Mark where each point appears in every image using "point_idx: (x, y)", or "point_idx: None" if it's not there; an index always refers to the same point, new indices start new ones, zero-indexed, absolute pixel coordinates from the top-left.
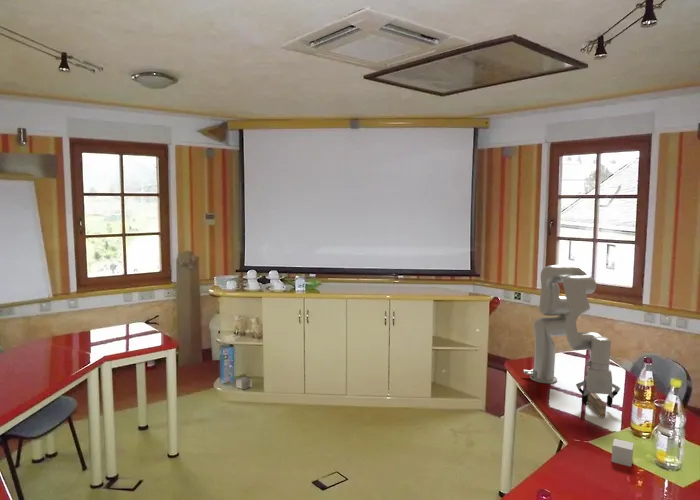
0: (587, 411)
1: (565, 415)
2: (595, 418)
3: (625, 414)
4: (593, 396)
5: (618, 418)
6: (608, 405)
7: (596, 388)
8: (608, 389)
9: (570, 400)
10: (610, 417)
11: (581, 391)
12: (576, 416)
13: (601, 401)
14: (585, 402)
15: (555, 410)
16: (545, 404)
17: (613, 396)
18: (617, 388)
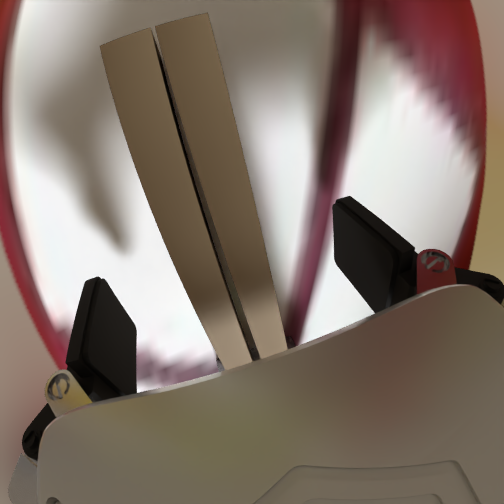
0: (294, 175)
1: (440, 44)
2: (236, 25)
3: (13, 275)
4: (283, 345)
5: (26, 153)
6: (111, 295)
7: (402, 432)
8: (82, 500)
9: (360, 313)
10: (86, 130)
11: (476, 284)
12: (387, 33)
13: (184, 229)
14: (363, 207)
15: (469, 116)
16: (480, 189)
17: (51, 393)
18: (27, 498)
